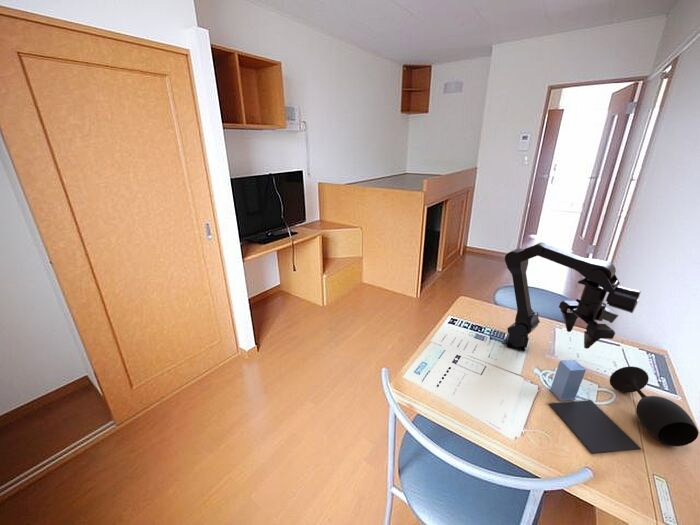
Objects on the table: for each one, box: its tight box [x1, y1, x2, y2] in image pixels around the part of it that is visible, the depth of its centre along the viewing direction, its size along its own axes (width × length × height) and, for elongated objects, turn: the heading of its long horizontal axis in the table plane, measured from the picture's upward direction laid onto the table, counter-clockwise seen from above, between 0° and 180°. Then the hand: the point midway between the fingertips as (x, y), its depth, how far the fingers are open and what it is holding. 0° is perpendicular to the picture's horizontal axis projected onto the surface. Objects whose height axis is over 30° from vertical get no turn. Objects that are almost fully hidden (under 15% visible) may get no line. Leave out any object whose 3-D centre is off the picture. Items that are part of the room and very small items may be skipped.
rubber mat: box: [548, 399, 641, 454], centre depth 87 cm, size 16×14×1 cm
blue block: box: [549, 359, 587, 402], centre depth 95 cm, size 4×5×12 cm
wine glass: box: [609, 366, 699, 447], centre depth 88 cm, size 10×10×20 cm
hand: (577, 339), depth 103 cm, fingers open, 9 cm apart
